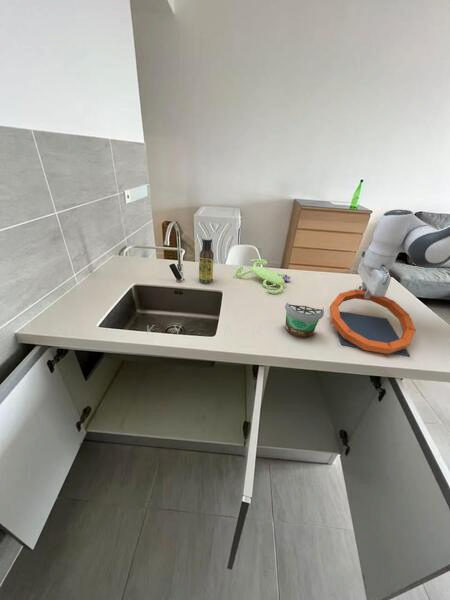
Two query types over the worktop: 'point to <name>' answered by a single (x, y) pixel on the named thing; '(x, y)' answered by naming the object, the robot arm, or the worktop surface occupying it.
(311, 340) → the worktop surface
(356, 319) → the mat
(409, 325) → the ring
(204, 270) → the sauce bottle
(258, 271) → the figurine
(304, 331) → the food container
